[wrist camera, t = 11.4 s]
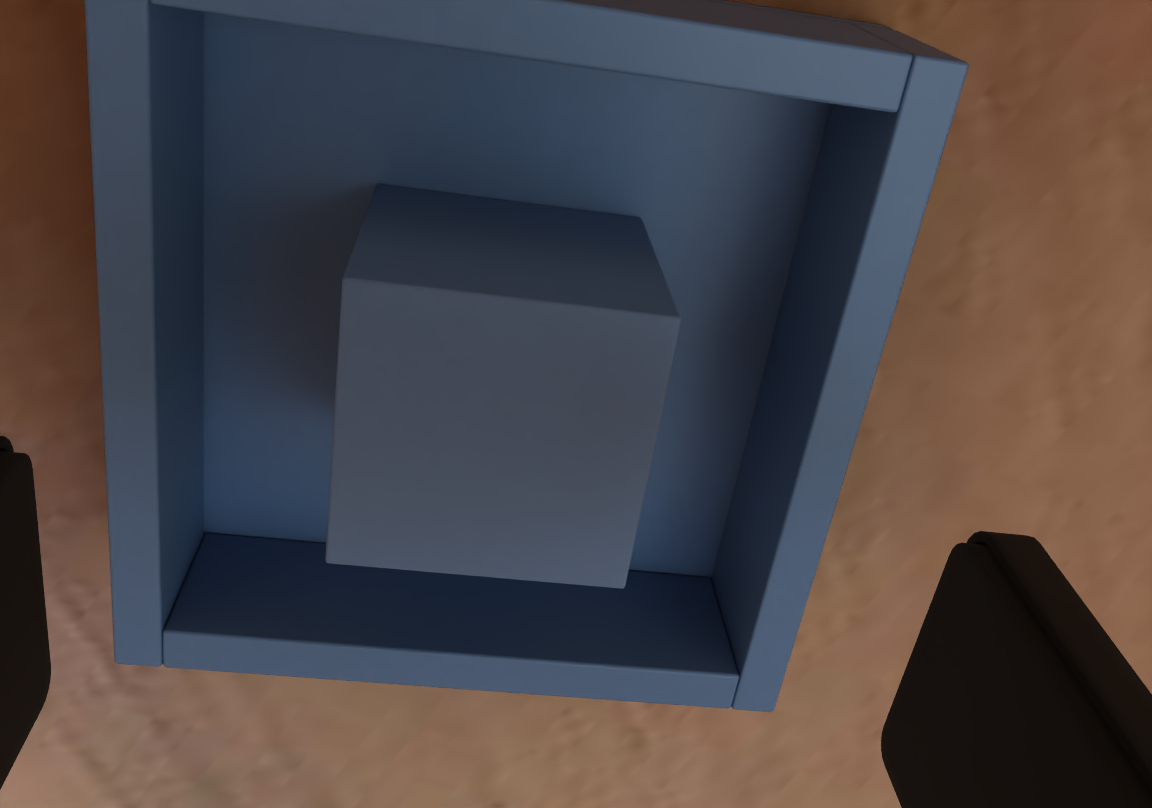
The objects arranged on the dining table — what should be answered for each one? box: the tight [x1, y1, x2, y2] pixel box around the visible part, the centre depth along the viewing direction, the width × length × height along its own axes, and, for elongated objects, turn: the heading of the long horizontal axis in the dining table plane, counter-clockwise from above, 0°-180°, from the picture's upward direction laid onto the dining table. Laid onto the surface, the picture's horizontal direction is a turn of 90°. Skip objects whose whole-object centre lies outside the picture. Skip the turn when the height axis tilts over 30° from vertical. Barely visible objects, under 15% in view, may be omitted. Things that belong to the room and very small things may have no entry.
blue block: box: [325, 184, 681, 589], centre depth 17 cm, size 4×4×4 cm
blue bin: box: [85, 0, 968, 712], centre depth 18 cm, size 12×12×4 cm
